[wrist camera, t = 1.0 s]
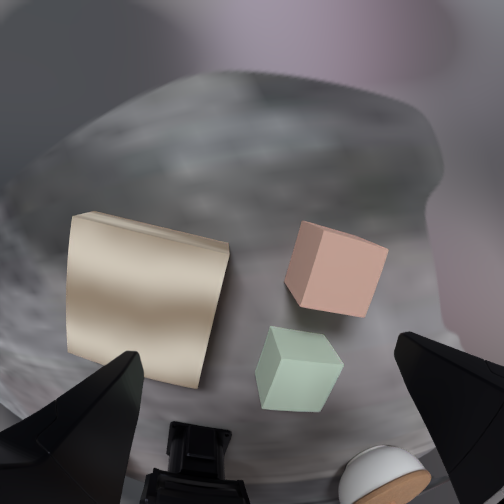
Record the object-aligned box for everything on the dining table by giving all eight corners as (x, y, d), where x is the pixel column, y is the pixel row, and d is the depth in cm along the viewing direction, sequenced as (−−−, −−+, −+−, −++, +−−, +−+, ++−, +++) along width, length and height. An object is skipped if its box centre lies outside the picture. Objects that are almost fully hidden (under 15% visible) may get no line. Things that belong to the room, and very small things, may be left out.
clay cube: (338, 292, 23) (364, 317, 18) (283, 281, 22) (300, 306, 18) (356, 236, 22) (388, 249, 17) (301, 220, 22) (323, 230, 17)
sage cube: (304, 377, 25) (319, 412, 20) (254, 371, 24) (261, 408, 19) (323, 333, 24) (343, 364, 19) (270, 325, 23) (281, 358, 18)
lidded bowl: (403, 457, 32) (430, 501, 21) (333, 489, 32) (352, 539, 21) (406, 418, 29) (445, 471, 18) (321, 458, 29) (345, 522, 18)
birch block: (199, 361, 24) (197, 389, 20) (85, 330, 22) (67, 352, 18) (228, 242, 22) (229, 254, 18) (95, 210, 20) (72, 216, 16)
